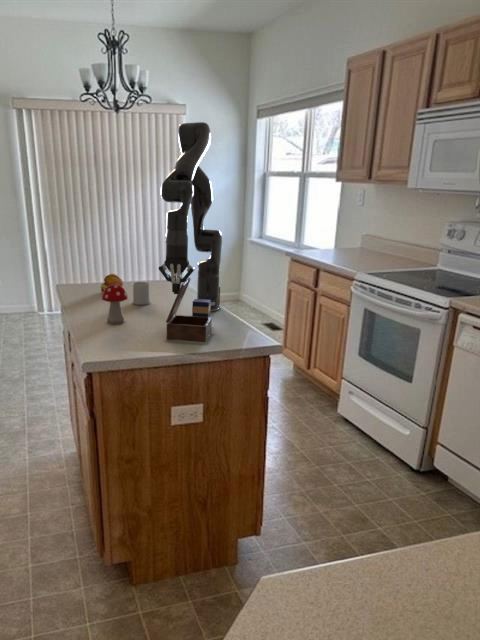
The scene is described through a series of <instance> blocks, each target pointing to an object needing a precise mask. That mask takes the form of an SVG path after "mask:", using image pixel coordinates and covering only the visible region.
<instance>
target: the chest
mask: <svg viewBox="0 0 480 640" xmlns="http://www.w3.org/2000/svg"><path fill="white" fill-rule="evenodd" d="M212 318H213V317H211V316H210V317H199V316H192V315H183V314H182V315H181V314H175V315H174V317H173V318H172V319H171V320H170V321H169V322H168V323H166V340H169V341H170V340H172V341H173V340H174V341H183V342H184V341H185V342H196V343H197V342H198V343H206V342H207V341H208V339H209V337H210V335H211V333H212V323H213V321H212V320H213V319H212Z"/></svg>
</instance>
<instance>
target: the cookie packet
mask: <svg viewBox="0 0 480 640" xmlns="http://www.w3.org/2000/svg"><path fill="white" fill-rule="evenodd" d="M191 316H199V317H211V311H210V300H205V299H197V298H194V299H193V300H192V308H191Z"/></svg>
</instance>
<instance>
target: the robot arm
mask: <svg viewBox="0 0 480 640" xmlns="http://www.w3.org/2000/svg"><path fill="white" fill-rule="evenodd" d="M177 131H178V134H177V137H178V144H179V148H180V152H181V155H180V156H179V158H178V159H177V160H176V162H175V164H174V167H173V170H172V171H171V172H170V173H169V174H168V175H167V177H166V178H165V179H164V180H163V182H162V184H161V187H160V196H161V198H162V200H163V201H164V202H166V203H172V204H174V203H176V204H180V206H179V208H177V209H172V210H171V209H170V210H169V211H167V212H166V229H165V230H166V231H165V260H164V262H163V264H161V265H159V266H158V268H157V269H158V270H159V272H160V273H161V274H162V276H163V278H165V280H166V281H167V282H170V283H171V292H172V293H173V294H174V295H177V294H178V292H179V290H180V287H181V285H182V284H183V283H184V282H185V281H186V280H187V279H188V278H189V277H190V276H191V275H192V274H193V272H195V270H196V268H195V267H194V266H192V265H191V264H190V261H189V258H188V257H189V233H188V224H189V223H188V221H189V220H188V219H189V212H190V211H191V218H192V219H191V220H192V230H193V242H194V248H195V250H196V251H197V252H199V253H208V254H210V256H209V257H208V258H206V259H203V260H200V261H198V262H197V283H196V284H197V288H196V291H197V292H196V294H197V295H196V299H205V300H210V312H216V311H218V310H219V309H220V307H221V305H220V303H221V286H220V273H221V272H220V267H221V257H222V247H223V234H222V232H221V231H220V230H218V229H205V228H204V221H205V217H206V216H207V213H208V212H209V210H210V208H211V206H212V203H213V200H214V196H213V188H212V182H211V180H210V178H209V177H208V175H207V174H206V172H205V171H204V170H203V169H202V168H201V166H200V165H199V164H200V162H201V161H202V159H203V157H204V156H205V154H206V152H207V151H208V149H209V147H210V145H211V139H212V138H211V137H212V136H211V135H212V134H211V128H210V126H209V124H208V123H207V122H203V121H197V122H196V121H195V122H185V123H181V124H179V127H178V129H177ZM167 270H168V271H169V272H170V273H169V272H168V271H167ZM185 271H186V274H185V275H184V276H183V273H184V272H185Z"/></svg>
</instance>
